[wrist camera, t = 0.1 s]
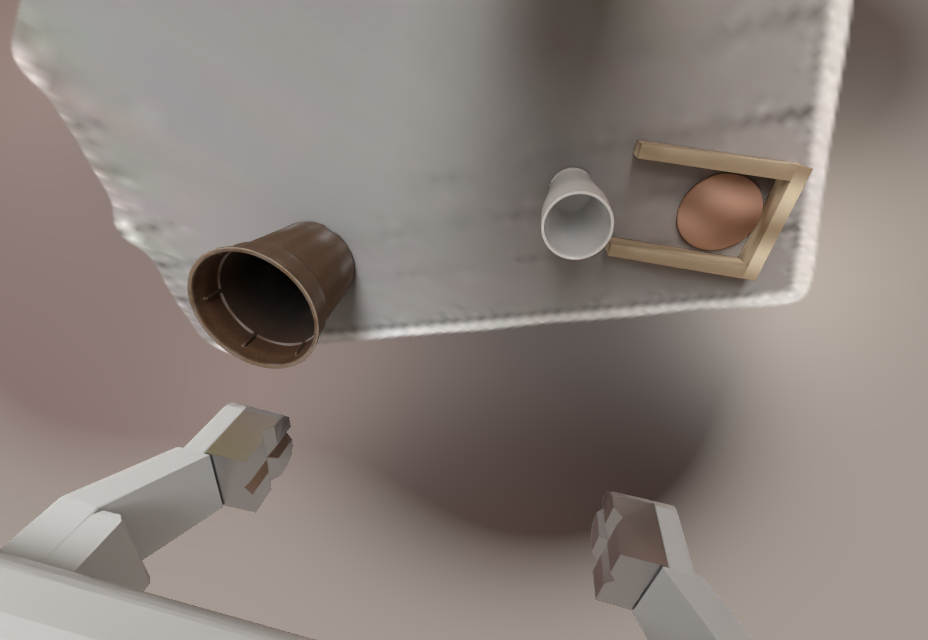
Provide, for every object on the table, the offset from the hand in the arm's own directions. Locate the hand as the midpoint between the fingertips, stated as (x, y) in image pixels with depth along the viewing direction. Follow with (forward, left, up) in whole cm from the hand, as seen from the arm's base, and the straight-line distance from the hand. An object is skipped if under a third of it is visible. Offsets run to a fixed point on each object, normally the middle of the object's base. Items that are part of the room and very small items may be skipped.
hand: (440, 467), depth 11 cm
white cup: (+3, +6, -48) cm, 49 cm away
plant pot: (+19, -28, -48) cm, 59 cm away
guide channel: (+3, +21, -48) cm, 52 cm away
